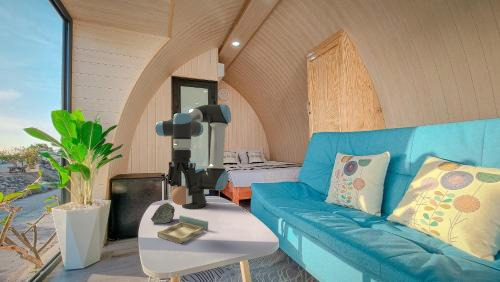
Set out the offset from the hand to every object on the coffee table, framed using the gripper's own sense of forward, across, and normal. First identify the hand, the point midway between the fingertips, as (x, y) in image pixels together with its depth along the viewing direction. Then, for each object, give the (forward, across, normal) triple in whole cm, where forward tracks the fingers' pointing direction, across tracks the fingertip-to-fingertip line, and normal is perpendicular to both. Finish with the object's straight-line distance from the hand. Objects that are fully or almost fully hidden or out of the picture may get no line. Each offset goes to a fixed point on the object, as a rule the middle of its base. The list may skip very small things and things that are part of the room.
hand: (181, 201), depth 94 cm
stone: (+14, -19, +8) cm, 25 cm away
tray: (+14, 0, 0) cm, 14 cm away
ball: (+1, 0, 0) cm, 1 cm away
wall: (+14, -1, +9) cm, 16 cm away
